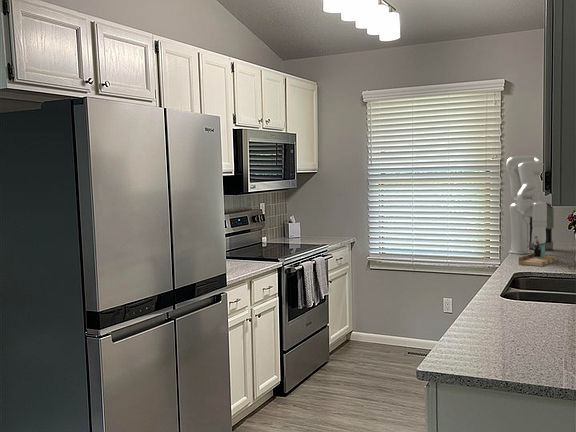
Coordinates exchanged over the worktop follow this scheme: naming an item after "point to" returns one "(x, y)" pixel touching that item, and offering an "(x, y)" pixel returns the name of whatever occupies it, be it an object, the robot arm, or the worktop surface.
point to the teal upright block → (542, 251)
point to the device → (548, 230)
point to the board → (535, 260)
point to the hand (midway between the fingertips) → (539, 255)
